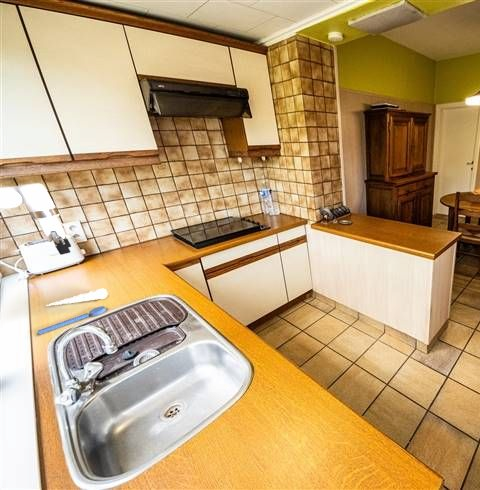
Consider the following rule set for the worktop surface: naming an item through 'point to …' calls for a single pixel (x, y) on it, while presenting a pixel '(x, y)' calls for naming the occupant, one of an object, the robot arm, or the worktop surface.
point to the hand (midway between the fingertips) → (66, 250)
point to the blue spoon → (74, 319)
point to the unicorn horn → (82, 297)
